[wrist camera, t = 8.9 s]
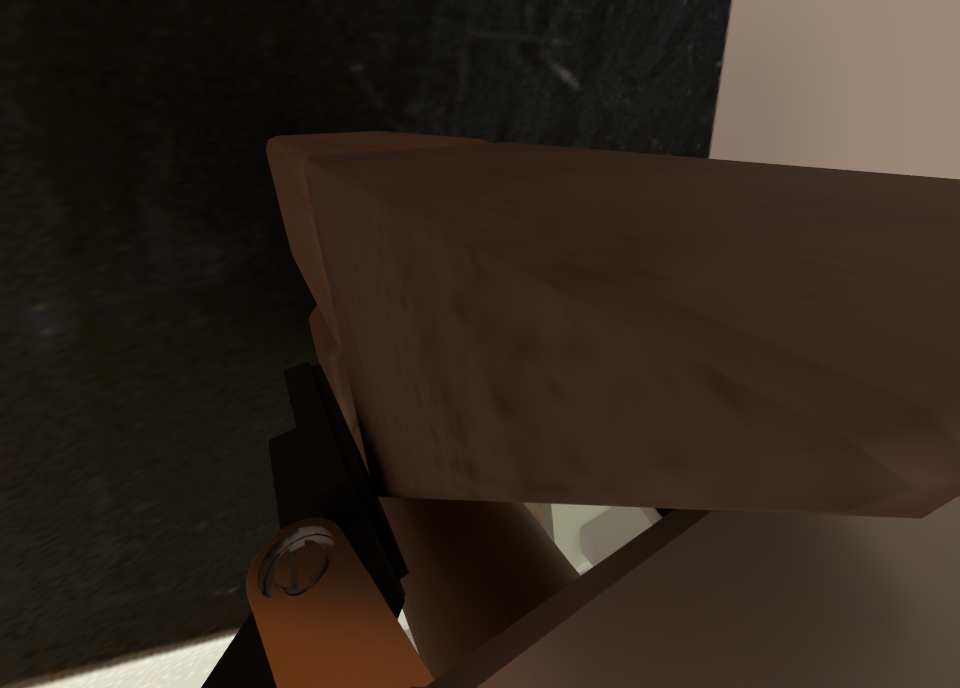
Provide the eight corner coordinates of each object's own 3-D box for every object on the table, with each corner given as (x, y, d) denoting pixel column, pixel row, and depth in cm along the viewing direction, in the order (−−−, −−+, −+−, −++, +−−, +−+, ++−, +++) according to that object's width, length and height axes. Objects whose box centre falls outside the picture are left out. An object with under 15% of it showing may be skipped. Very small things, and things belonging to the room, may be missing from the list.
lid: (527, 378, 22) (587, 430, 18) (693, 298, 26) (770, 328, 22) (548, 566, 32) (590, 624, 28) (666, 487, 36) (715, 529, 32)
